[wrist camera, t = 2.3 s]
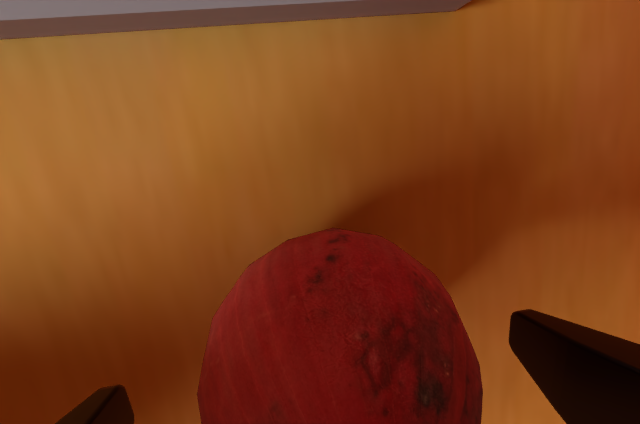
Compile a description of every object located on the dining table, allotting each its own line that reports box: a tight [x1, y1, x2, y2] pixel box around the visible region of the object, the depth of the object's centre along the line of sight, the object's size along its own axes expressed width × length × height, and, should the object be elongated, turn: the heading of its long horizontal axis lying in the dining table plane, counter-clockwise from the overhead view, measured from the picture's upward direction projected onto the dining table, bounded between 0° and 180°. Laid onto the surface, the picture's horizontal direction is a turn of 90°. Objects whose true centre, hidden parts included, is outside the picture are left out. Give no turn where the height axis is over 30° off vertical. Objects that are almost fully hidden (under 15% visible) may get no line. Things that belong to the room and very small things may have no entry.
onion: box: [197, 228, 483, 424], centre depth 7 cm, size 6×6×8 cm
